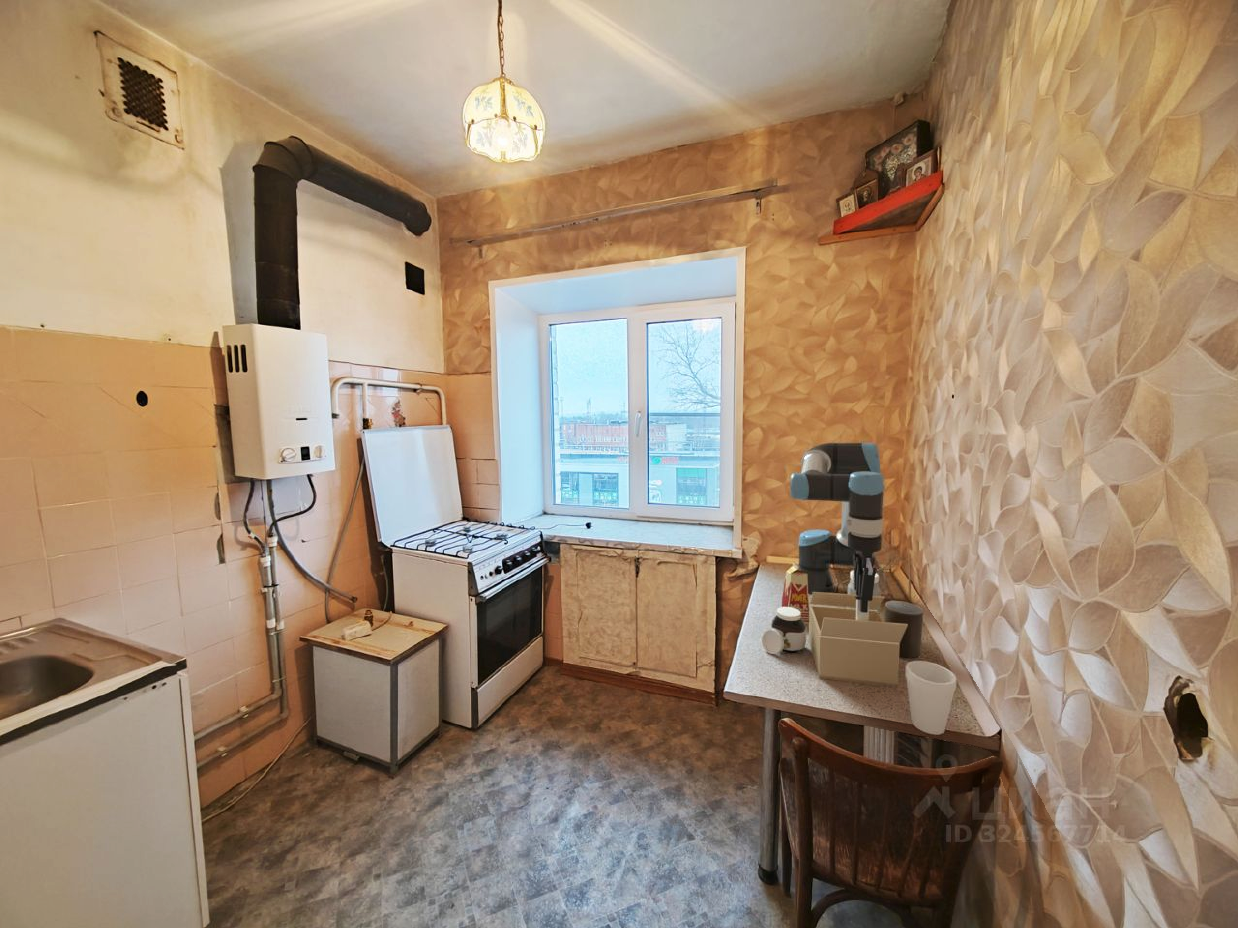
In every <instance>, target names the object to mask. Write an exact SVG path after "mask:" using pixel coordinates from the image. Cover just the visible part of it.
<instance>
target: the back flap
mask: <svg viewBox="0 0 1238 928" xmlns="http://www.w3.org/2000/svg"><path fill="white" fill-rule="evenodd" d="M855 596H857V595H854V594H848V593H835V592H831V593H824V592H813V593H811V597H810V599H809V605H812V606H826V607H839V608H847V607H854V608H856V599H855ZM884 599H885V596H884V595H883V596H882V595H881V596H873V599H872V601H869V609H878V608H879V606H880V607H881V605H880V604H882V603H883V601H884Z"/></svg>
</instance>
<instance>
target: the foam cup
mask: <svg viewBox="0 0 1238 928" xmlns="http://www.w3.org/2000/svg"><path fill="white" fill-rule="evenodd" d="M904 675H905V678H906V682H907V683H906V684H907V685H906V686H907V692H908V693H907V694H908V702H909V710H910V718H911V723H912V725H913V726H915V728H916V729H918V730H920V731H921V732H924V733H926V734H930V735H941V734H944V733H945V730H946V727H947V722H948V719H949V716H950V715H949V714H950V710H951V708H952V707H951V706H952V703H953V702H952V701H953V698H954V693H955V691H956V690H957V680H958V679H957V676H955V673H953V672H952V671H951V670H950V669H948V668H947V667H944V666H943V665H940V664H937V663H935V662H934V663H933V662H929V661H926V660H913V661H910V662H907V664H906V665H905V674H904Z"/></svg>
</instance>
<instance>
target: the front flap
mask: <svg viewBox="0 0 1238 928" xmlns="http://www.w3.org/2000/svg"><path fill="white" fill-rule="evenodd" d="M907 626H908V624H901V623H889V622H877V621H864V620H852V619H840V618H827V617H824V619H823V624H822V628H821V633H820V636H826V637H837V638H848V639H859V640H870V641H881V642H892V643H900V641H901V639H902V637H903V635H904V633H905V630H906V628H907Z"/></svg>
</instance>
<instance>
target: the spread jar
mask: <svg viewBox="0 0 1238 928" xmlns="http://www.w3.org/2000/svg"><path fill="white" fill-rule="evenodd" d="M761 642H762V643H761V644H762V647H763V648H764V650H765V652H767V653H769V654H771V655H778V654H780V653H781V652H784V653H787V654H796V653H798V652H801V651H803V649H804V648H805V647H806V643H807V625H805V623H804V621H803V620H802V619H801V613H800V611H799V610H797V609H795V608H792V607H781V606H780V607H778V608H777V609H776V615H775V616H774V617H773V618H772V621H771V628H770V629H768V630H766V631H765V632H764V633H763V634H762V638H761Z"/></svg>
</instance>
